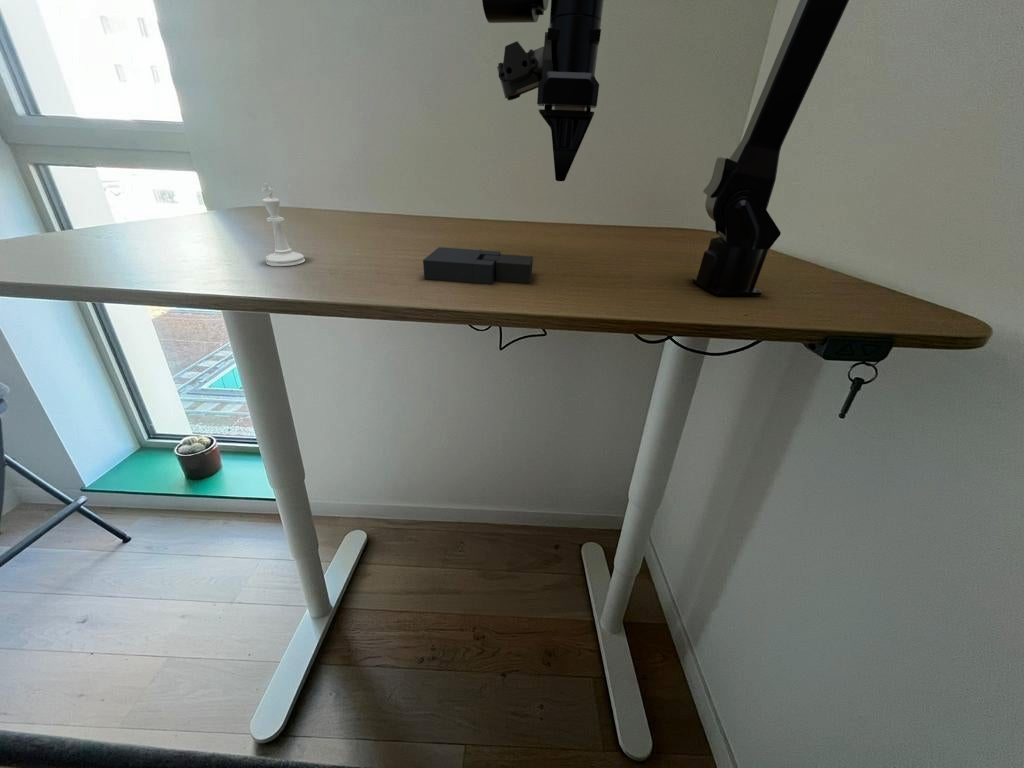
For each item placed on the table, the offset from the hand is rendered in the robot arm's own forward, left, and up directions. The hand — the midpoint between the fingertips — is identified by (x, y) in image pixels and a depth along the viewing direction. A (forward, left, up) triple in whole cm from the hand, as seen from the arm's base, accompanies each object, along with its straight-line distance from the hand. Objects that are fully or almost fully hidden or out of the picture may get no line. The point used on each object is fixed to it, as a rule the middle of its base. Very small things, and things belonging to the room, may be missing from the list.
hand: (560, 178), depth 53 cm
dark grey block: (+6, +4, -12) cm, 14 cm away
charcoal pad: (+13, +3, -12) cm, 18 cm away
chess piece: (+38, -3, -12) cm, 40 cm away
